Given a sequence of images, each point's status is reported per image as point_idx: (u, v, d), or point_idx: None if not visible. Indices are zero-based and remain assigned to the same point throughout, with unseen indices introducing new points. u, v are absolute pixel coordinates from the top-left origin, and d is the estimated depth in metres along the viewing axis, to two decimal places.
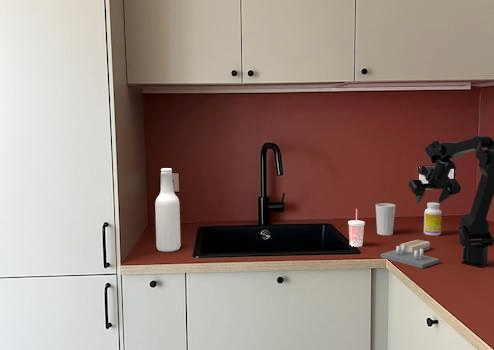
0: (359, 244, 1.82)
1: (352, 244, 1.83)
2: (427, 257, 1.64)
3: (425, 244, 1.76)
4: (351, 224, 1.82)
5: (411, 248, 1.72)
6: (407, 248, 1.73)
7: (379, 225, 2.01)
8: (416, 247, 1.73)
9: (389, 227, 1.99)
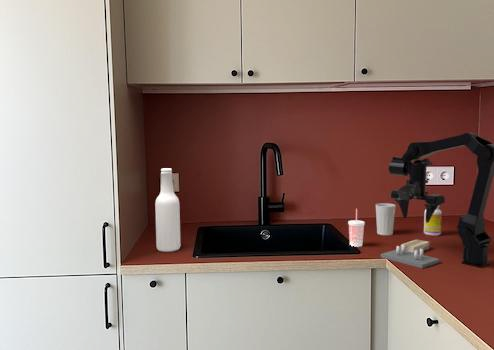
0: (359, 244, 1.82)
1: (352, 244, 1.83)
2: (427, 257, 1.64)
3: (425, 244, 1.77)
4: (351, 224, 1.82)
5: (412, 248, 1.71)
6: (408, 248, 1.73)
7: (379, 225, 2.01)
8: (417, 247, 1.73)
9: (389, 227, 1.99)
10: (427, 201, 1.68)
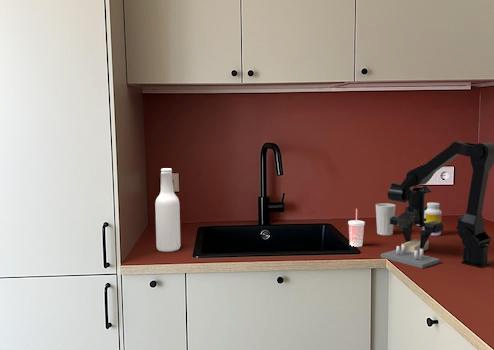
0: (359, 244, 1.82)
1: (352, 244, 1.83)
2: (427, 257, 1.64)
3: None
4: (351, 224, 1.82)
5: (413, 248, 1.71)
6: (408, 248, 1.73)
7: (379, 225, 2.01)
8: (417, 247, 1.73)
9: (389, 227, 1.99)
10: (426, 229, 1.69)
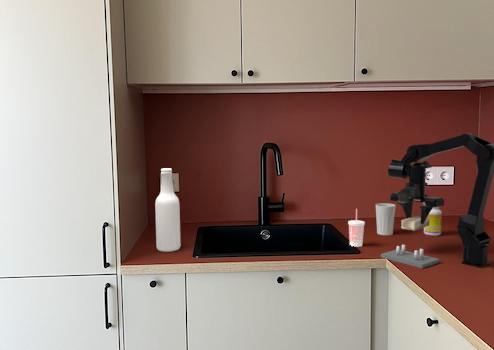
0: (359, 244, 1.82)
1: (352, 244, 1.83)
2: (427, 257, 1.64)
3: None
4: (351, 224, 1.82)
5: (413, 223, 1.70)
6: (409, 223, 1.72)
7: (379, 225, 2.01)
8: (418, 222, 1.72)
9: (389, 227, 1.99)
10: (427, 204, 1.68)
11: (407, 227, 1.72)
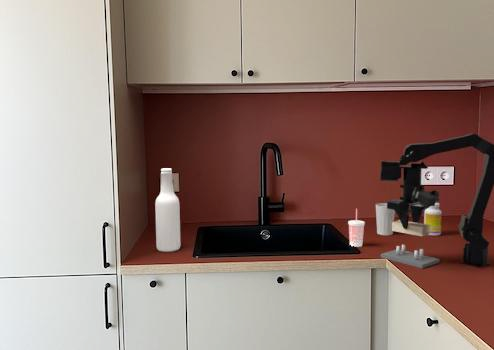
0: (359, 244, 1.82)
1: (352, 244, 1.83)
2: (427, 257, 1.64)
3: None
4: (351, 224, 1.82)
5: (429, 226, 1.61)
6: (426, 228, 1.60)
7: (379, 225, 2.01)
8: None
9: (389, 227, 1.99)
10: None
11: (425, 232, 1.60)
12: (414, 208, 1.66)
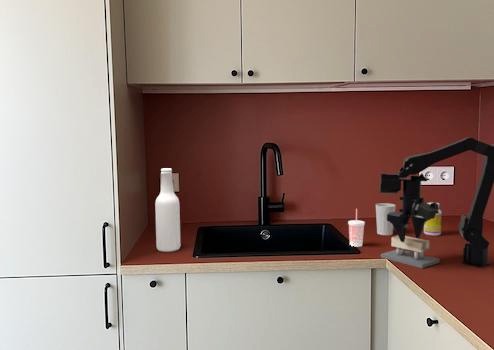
0: (359, 244, 1.82)
1: (352, 244, 1.83)
2: (427, 257, 1.64)
3: None
4: (351, 224, 1.82)
5: (428, 242, 1.61)
6: (425, 244, 1.60)
7: (379, 225, 2.01)
8: None
9: (389, 227, 1.99)
10: None
11: (424, 249, 1.60)
12: (416, 219, 1.67)
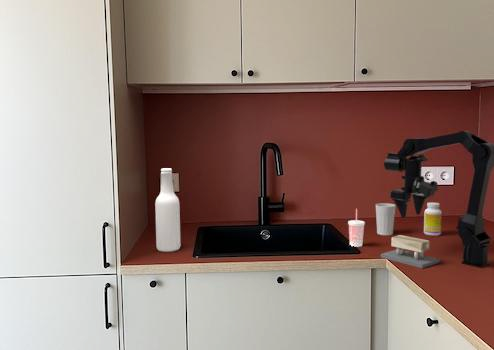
0: (359, 244, 1.82)
1: (352, 244, 1.83)
2: (427, 257, 1.64)
3: None
4: (351, 224, 1.82)
5: (428, 242, 1.61)
6: (425, 244, 1.60)
7: (379, 225, 2.01)
8: None
9: (389, 227, 1.99)
10: None
11: (424, 249, 1.60)
12: (417, 197, 1.80)
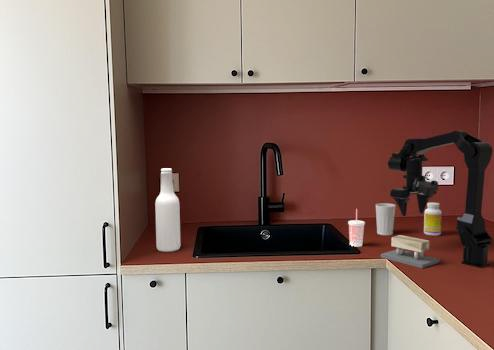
0: (359, 244, 1.82)
1: (352, 244, 1.83)
2: (427, 257, 1.64)
3: None
4: (351, 224, 1.82)
5: (428, 242, 1.61)
6: (425, 244, 1.60)
7: (379, 225, 2.01)
8: None
9: (389, 227, 1.99)
10: None
11: (424, 249, 1.60)
12: (420, 196, 1.84)
